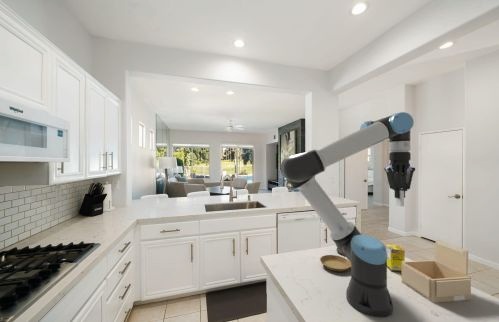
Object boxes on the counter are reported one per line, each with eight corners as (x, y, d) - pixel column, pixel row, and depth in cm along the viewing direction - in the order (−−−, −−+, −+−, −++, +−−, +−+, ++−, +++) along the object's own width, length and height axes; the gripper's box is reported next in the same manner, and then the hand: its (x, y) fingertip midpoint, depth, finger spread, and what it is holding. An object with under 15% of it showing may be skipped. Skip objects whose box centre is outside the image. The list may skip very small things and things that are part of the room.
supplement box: (405, 272, 98) (404, 250, 98) (391, 271, 99) (391, 249, 99) (398, 266, 104) (398, 245, 104) (385, 265, 105) (385, 244, 105)
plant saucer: (329, 275, 96) (329, 269, 96) (315, 260, 111) (315, 255, 111) (357, 273, 98) (357, 267, 98) (340, 258, 113) (340, 253, 113)
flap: (466, 251, 79) (468, 251, 79) (435, 239, 91) (437, 239, 91) (465, 274, 79) (467, 274, 79) (434, 259, 91) (436, 259, 91)
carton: (433, 305, 76) (433, 281, 76) (398, 281, 91) (398, 261, 91) (473, 302, 77) (473, 278, 77) (432, 278, 93) (432, 259, 93)
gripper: (392, 151, 84) (392, 207, 84) (421, 151, 86) (421, 207, 86) (379, 152, 92) (379, 204, 92) (405, 152, 93) (406, 203, 93)
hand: (399, 205), depth 89 cm, fingers closed
